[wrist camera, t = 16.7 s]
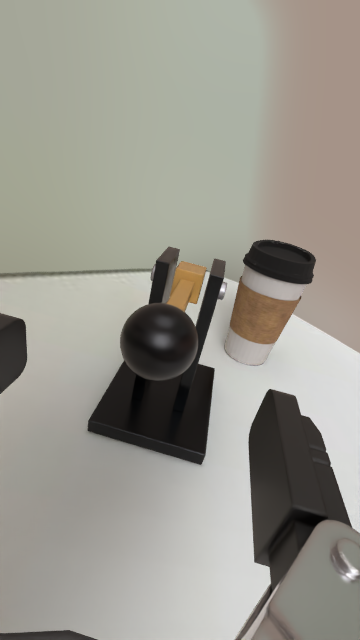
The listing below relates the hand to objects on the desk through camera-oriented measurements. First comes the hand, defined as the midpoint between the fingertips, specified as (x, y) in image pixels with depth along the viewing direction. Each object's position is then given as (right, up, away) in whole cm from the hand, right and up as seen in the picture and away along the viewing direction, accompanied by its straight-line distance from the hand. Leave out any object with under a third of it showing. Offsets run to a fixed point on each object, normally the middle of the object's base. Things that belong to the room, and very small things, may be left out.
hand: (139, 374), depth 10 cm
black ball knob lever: (+1, +1, +10) cm, 10 cm away
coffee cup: (+10, -3, +32) cm, 34 cm away
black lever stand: (-1, -6, +20) cm, 21 cm away
